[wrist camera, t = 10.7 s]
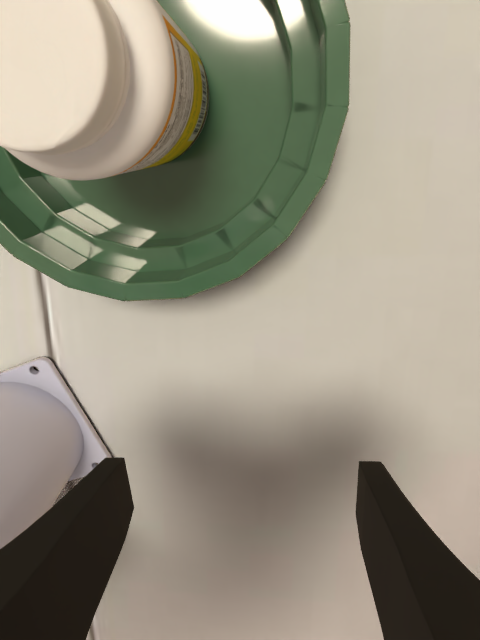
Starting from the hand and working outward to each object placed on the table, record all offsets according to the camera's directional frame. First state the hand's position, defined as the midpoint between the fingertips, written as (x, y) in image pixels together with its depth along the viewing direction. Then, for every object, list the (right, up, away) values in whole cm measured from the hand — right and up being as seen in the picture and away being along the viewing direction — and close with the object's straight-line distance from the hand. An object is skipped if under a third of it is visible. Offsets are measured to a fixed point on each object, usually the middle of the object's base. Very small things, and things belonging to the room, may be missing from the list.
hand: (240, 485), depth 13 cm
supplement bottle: (-4, +14, +5) cm, 16 cm away
